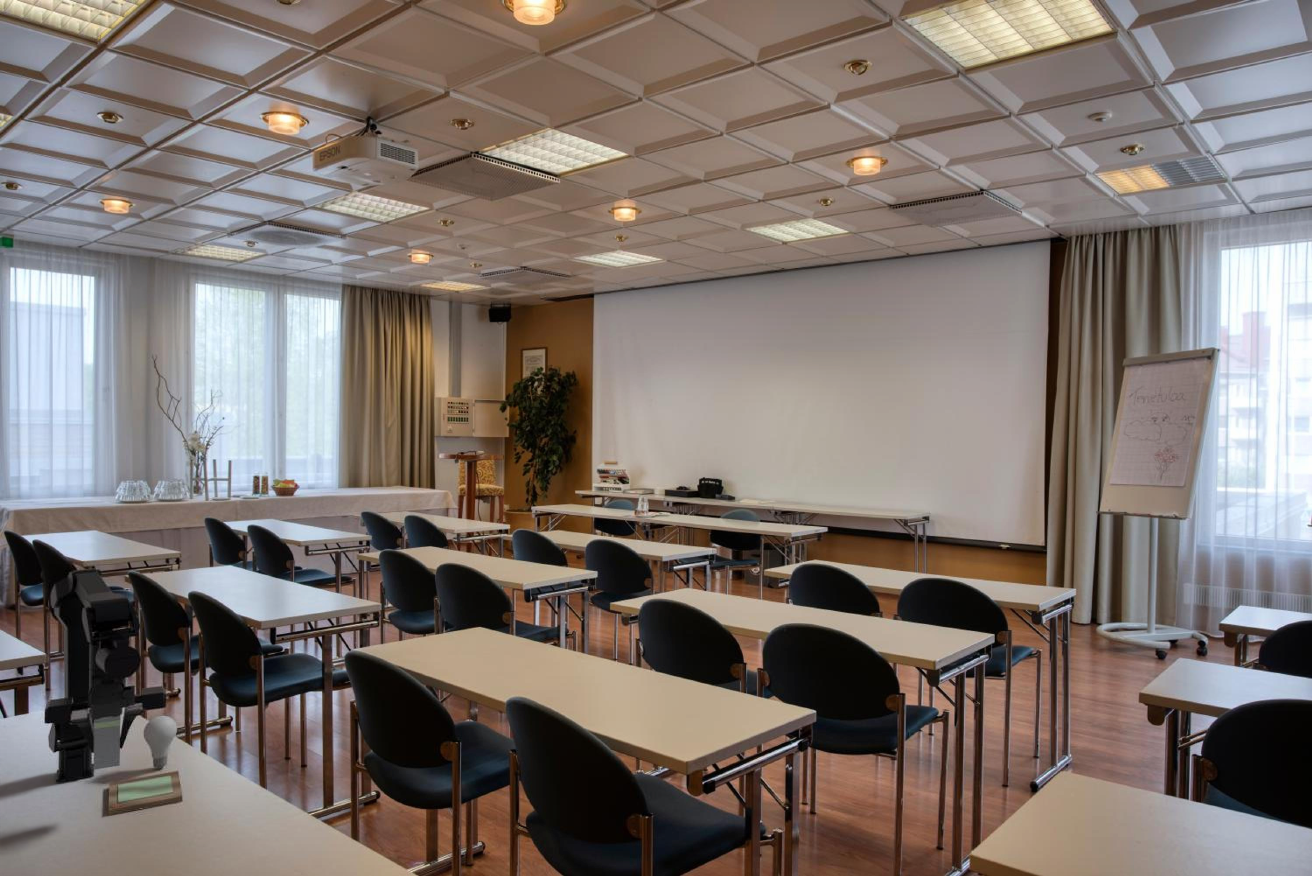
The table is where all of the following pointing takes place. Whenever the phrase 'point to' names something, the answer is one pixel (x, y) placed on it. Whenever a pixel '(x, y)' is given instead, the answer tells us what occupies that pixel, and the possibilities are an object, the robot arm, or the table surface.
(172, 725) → the lightbulb
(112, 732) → the column
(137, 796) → the stand plate
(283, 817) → the table surface
